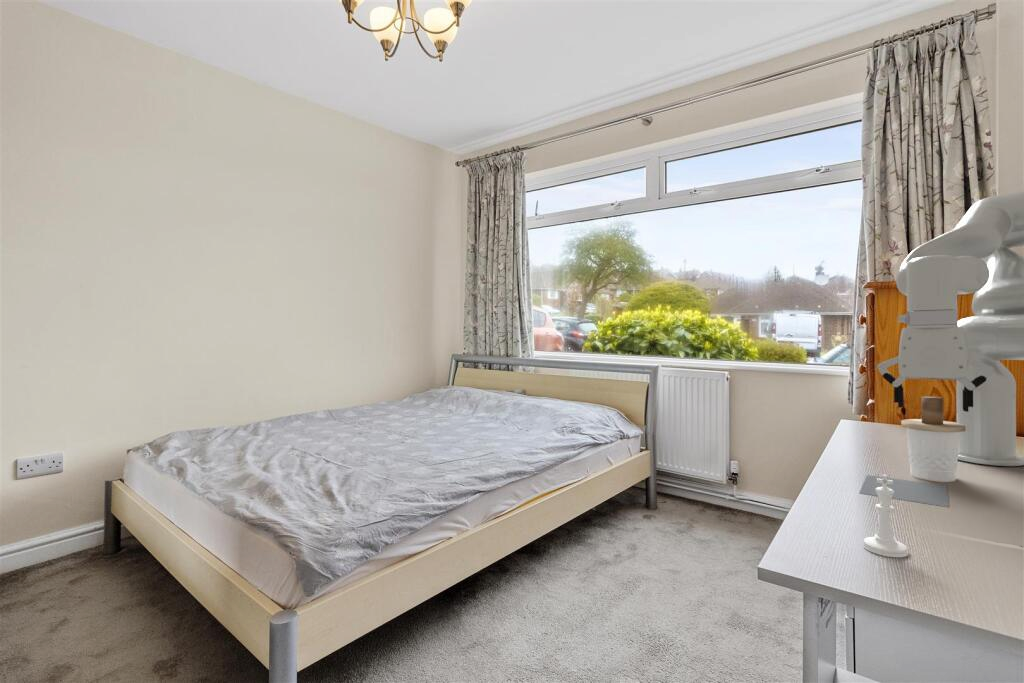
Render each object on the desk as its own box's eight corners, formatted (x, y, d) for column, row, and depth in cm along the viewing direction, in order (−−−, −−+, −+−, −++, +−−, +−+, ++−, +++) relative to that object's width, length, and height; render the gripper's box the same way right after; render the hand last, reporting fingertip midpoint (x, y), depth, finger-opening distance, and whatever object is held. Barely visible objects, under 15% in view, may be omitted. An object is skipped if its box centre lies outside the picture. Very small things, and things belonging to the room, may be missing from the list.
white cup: (898, 476, 100) (897, 426, 100) (920, 471, 103) (920, 422, 103) (946, 487, 93) (945, 432, 93) (968, 480, 96) (968, 428, 96)
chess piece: (864, 538, 71) (863, 468, 71) (909, 547, 68) (908, 473, 68) (860, 551, 67) (860, 476, 67) (907, 561, 64) (907, 482, 64)
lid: (901, 421, 105) (901, 393, 104) (964, 426, 98) (963, 396, 98) (900, 428, 97) (899, 398, 97) (967, 434, 91) (966, 402, 91)
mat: (866, 476, 100) (866, 474, 100) (946, 487, 92) (946, 485, 92) (859, 495, 89) (859, 493, 89) (949, 509, 81) (949, 507, 81)
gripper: (875, 321, 100) (875, 407, 100) (995, 318, 89) (995, 415, 89) (878, 321, 106) (878, 403, 106) (991, 319, 95) (991, 409, 95)
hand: (932, 408), depth 98 cm, fingers open, 9 cm apart
